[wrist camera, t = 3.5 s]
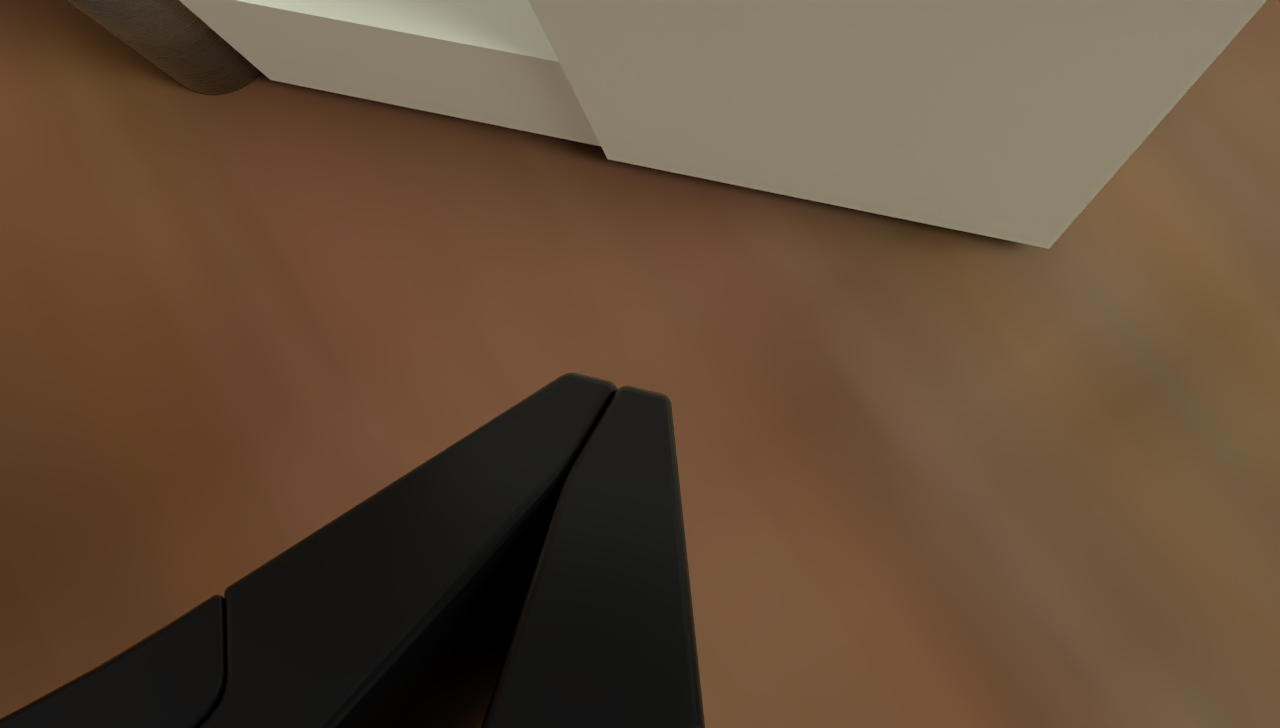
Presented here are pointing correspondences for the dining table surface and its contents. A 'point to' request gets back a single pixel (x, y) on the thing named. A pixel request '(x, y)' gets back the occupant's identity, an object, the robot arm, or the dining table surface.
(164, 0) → the hinge post
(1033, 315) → the dining table surface
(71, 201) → the dining table surface
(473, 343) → the dining table surface
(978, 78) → the gate
